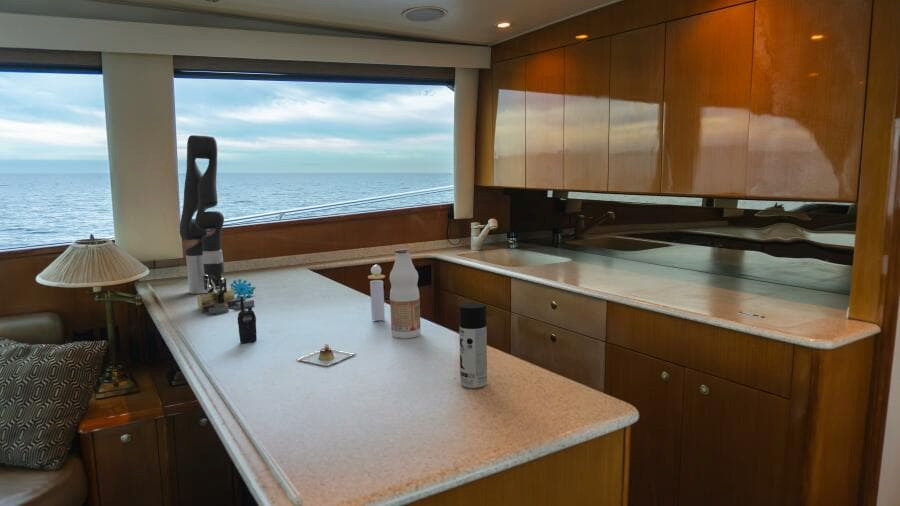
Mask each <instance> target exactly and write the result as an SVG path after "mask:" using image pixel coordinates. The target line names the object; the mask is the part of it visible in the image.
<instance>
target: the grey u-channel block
mask: <svg viewBox="0 0 900 506" xmlns="http://www.w3.org/2000/svg"><path fill="white" fill-rule="evenodd" d="M227 302H228V305H224V306H220V303H215V304H210V305H205V306H201V310H200V312H202V314H205V315H208V314H209V315H208V316H211V315H212V316H215V315H216V314H217V315H221V314H225V313H229V312H230V309H233V310H240V311H241V304H240V298H236V299H235V300H230V301H227ZM243 303H244V310H245V309H248V307H251V308H253V307H255V300H254V299H249V300H248V299H247V297H246V298H243Z"/></svg>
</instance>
